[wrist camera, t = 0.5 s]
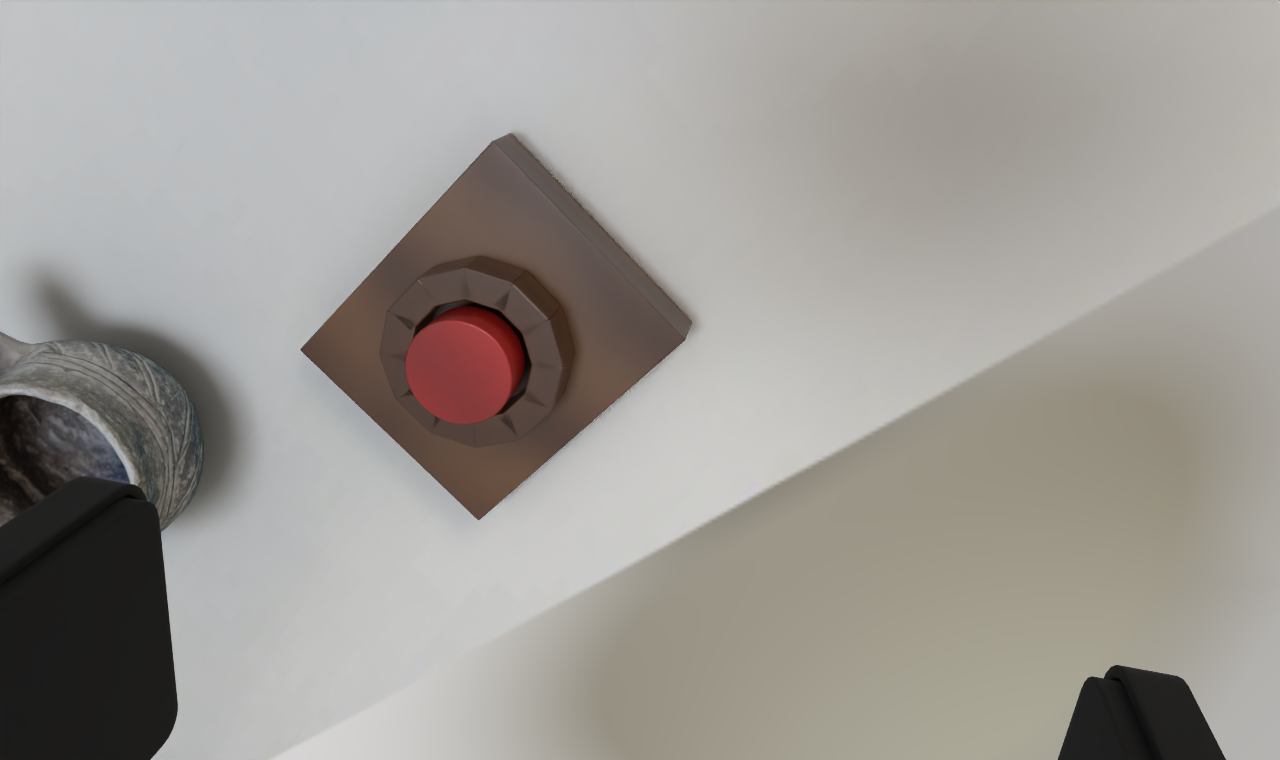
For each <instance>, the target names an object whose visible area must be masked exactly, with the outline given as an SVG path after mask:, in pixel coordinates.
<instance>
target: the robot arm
mask: <svg viewBox="0 0 1280 760" xmlns="http://www.w3.org/2000/svg"><path fill="white" fill-rule="evenodd" d="M177 712H178V702H177V692H176V682H175V672H174V662H173V652H172V642H171V632H170V622H169V612H168V602H167V592H166V581H165V571H164V561H163V551H162V541H161V531H160V521H159V514H158V510H157V508H156V507H155V505H154V504H153V503H151V502H149V501H147V498H146V495H145V493H144V492H143V490H142V489H141V488H140V487H138V486H136V485H134V484H128V483H123V482H117V481H112V480H106V479H101V478H96V477H90V476H79V477H77V478H75V479H73V480H71V481H69V482H68V483H66V484H64V485H63V486H61V487H60V488H58V489H57V490H55V491H54V492H52V493H51V494H49V495H48V496H46V497H45V498H43V499H42V500H40V501H39V502H37V503H36V504H34V505H33V506H31V507H30V508H28V509H27V510H25V511H24V512H22V513H21V514H19V515H17V516H16V517H14V518H13V519H11V520H10V521H8V522H7V523H5V524H4V525H2V526H1V527H0V760H150V759H151V758H152V757H153V756H154V755H155V754H156V753H157V751H158V750H159V749H160V748H161V747H162V746H163V744H164V743H165V742H166V740H167V739H168V737H169V736H170V734H171V732H172V730H173V727H174V724H175V721H176V717H177ZM1058 760H1226V759H1225V757H1224V755H1223V753H1222V751H1221V749H1220V747H1219V745H1218V743H1217V741H1216V739H1215V737H1214V735H1213V733H1212V732H1211V729H1210V728H1209V726H1208V724H1207V722H1206V720H1205V718H1204V716H1203V714H1202V712H1201V710H1200V708H1199V706H1198V704H1197V702H1196V700H1195V698H1194V696H1193V694H1192V692H1191V690H1190V688H1189V686H1188V685H1187V684H1186V682H1185V681H1184V680H1183V679H1182V678H1180V677H1178V676H1174V675H1169V674H1163V673H1158V672H1152V671H1147V670H1141V669H1136V668H1130V667H1125V666H1119V665H1115V666H1113V667H1111V668H1110V669H1109V670H1108V671H1107V673H1106V674H1105V677H1104V679H1103V678H1097V677H1089V678H1087V680H1086V681H1085V682H1084V684H1083V687H1082V689H1081V692H1080V695H1079V698H1078V701H1077V704H1076V707H1075V710H1074V713H1073V716H1072V719H1071V722H1070V725H1069V728H1068V731H1067V734H1066V737H1065V740H1064V743H1063V746H1062V749H1061V752H1060V755H1059V758H1058Z"/></svg>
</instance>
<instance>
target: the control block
mask: <svg viewBox="0 0 1280 760" xmlns="http://www.w3.org/2000/svg"><path fill="white" fill-rule="evenodd" d="M463 306H471V307H478V308H482V309H485V310H488V311H490V312H492V313H494V314H496V315H498V316H499V317H500V318H502V319H503V320H504V321H505V322H507V323H508V324H509V325H510V327H511V328H512V329H513V330H514V332H515V333H516V335H517V336H518V338H519V340H520V342H521V345H522V348H523V351H524V357H525V369H524V375H523V378H522V381H521V383H520V385H519V387H518V388H517V390H516V391H515V392H514V394H513V395H512V396H511V397H510V399H509V400H508V401H507V403H506V404H505V405H504V406H503V408H502V409H501V410H500V411H499V412H498V413H497V414H495V415H494V416H493V417H491V418H489V419H488V420H485V421H483V422H480V423H476V424H455V423H451V422H447V421H445V420H442V419H440V418H438V417H436V416H435V415H433V414H432V413H430V412H429V411H428V410H427V409H425V408H424V407H423V406H422V405H421V404H420V403H419V401H418V400H417V399H416V397H415V396H414V394H413V392H412V391H411V389H410V386H409V384H408V381H407V377H406V371H405V360H406V354H407V350H408V348H409V345H410V343H411V342H412V340H413V338H414V337H415V336H416V335H417V334H418V333H419V332H420V331H421V330H422V329H423V328H424V327H426V326H427V325H428V324H429V323H430V322H432V321H433V320H434V319H435V318H436V317H438V316H439V315H440V314H442V313H443V312H445V311H447V310H450V309H453V308H456V307H463ZM691 324H692V321H691V320H690V319H689V318H688V317H687V316H686V315H685V314H684V313H683V312H682V311H681V310H680V309H679V308H678V307H677V306H676V304H675V303H674V302H673V301H672V300H671V299H670V298H669V297H668V296H667V295H666V294H665V293H664V292H663V291H662V290H661V289H660V288H659V287H658V286H657V285H656V284H655V283H654V282H653V281H652V279H651V278H650V277H649V276H648V275H647V274H646V273H645V272H644V271H643V270H642V269H641V268H640V267H639V266H638V265H637V264H636V263H635V262H634V261H633V260H632V259H631V258H630V257H629V256H628V254H627V253H626V252H625V251H624V250H623V249H622V248H621V247H620V246H619V245H618V244H617V243H616V242H615V241H614V240H613V239H612V238H611V237H610V236H609V235H608V234H607V233H606V232H605V231H604V230H603V228H602V227H601V226H600V225H599V224H598V223H597V222H596V221H595V220H594V219H593V218H592V217H591V216H590V215H589V214H588V213H587V212H586V211H585V210H584V209H583V208H582V207H581V206H580V205H579V203H578V202H577V201H576V200H575V199H574V198H573V197H572V196H571V195H570V194H569V193H568V192H567V191H566V190H565V189H564V188H563V187H562V186H561V185H560V184H559V183H558V182H557V181H556V180H555V178H554V177H553V176H552V175H551V174H550V173H549V172H548V171H547V170H546V169H545V168H544V167H543V166H542V165H541V164H540V163H539V162H538V161H537V160H536V159H535V158H534V157H533V156H532V155H531V154H530V152H529V151H528V150H527V149H526V148H525V147H524V146H523V145H522V144H521V143H520V142H519V141H518V140H517V139H516V138H515V137H514V136H513V135H512V134H511V133H510V134H507V135H505V136H503V137H501V138H499V139H496V140H494V141H492V142H491V143H490V145H489V146H488V147H487V148H486V149H485V150H484V151H483V152H482V153H481V154H480V155H479V156H478V158H477V159H476V160H475V161H474V162H473V163H472V164H471V165H470V166H469V167H468V168H467V169H466V171H465V172H464V173H463V174H462V175H461V176H460V177H459V178H458V179H457V180H456V181H455V182H454V184H453V185H452V186H451V187H450V188H449V189H448V190H447V191H446V192H445V193H444V194H443V195H442V197H441V198H440V199H439V200H438V201H437V202H436V203H435V204H434V205H433V206H432V207H431V208H430V210H429V211H428V212H427V213H426V214H425V215H424V216H423V217H422V218H421V219H420V220H419V221H418V223H417V224H416V225H415V226H414V227H413V228H412V229H411V230H410V231H409V232H408V233H407V234H406V236H405V237H404V238H403V239H402V240H401V241H400V242H399V243H398V244H397V245H396V246H395V247H394V249H393V250H392V251H391V252H390V253H389V254H388V255H387V256H386V257H385V258H384V259H383V260H382V262H381V263H380V264H379V265H378V266H377V267H376V268H375V269H374V270H373V271H372V272H371V273H370V275H369V276H368V277H367V278H366V279H365V280H364V281H363V282H362V283H361V284H360V285H359V286H358V288H357V289H356V290H355V291H354V292H353V293H352V294H351V295H350V296H349V297H348V298H347V299H346V301H345V302H344V303H343V304H342V305H341V306H340V307H339V308H338V309H337V310H336V311H335V312H334V314H333V315H332V316H331V317H330V318H329V319H328V320H327V321H326V322H325V323H324V324H323V325H322V327H321V328H320V329H319V330H318V331H317V332H316V333H315V334H314V335H313V336H312V337H311V338H310V340H309V341H308V342H307V343H306V344H305V345H304V346H303V347H302V348H301V351H302V352H303V353H304V354H305V355H306V356H307V357H308V358H309V359H310V360H311V361H312V362H313V363H314V364H315V365H316V366H318V367H319V368H320V369H321V370H322V371H323V372H324V373H325V374H326V375H327V376H328V377H329V378H330V379H331V380H332V381H333V382H334V383H335V384H336V385H337V386H338V387H340V388H341V389H342V390H343V391H344V392H345V393H346V394H347V395H348V396H349V397H350V398H351V399H352V400H353V401H354V402H355V403H356V404H357V405H358V406H359V407H360V408H361V409H363V410H364V411H365V412H366V413H367V414H368V415H369V416H370V417H371V418H372V419H373V420H374V421H375V422H376V423H377V424H378V425H379V426H380V427H381V428H382V429H383V430H384V431H386V432H387V433H388V434H389V435H390V436H391V437H392V438H393V439H394V440H395V441H396V442H397V443H398V444H399V445H400V446H401V447H402V448H403V449H404V450H405V451H406V452H408V453H409V454H410V455H411V456H412V457H413V458H414V459H415V460H416V461H417V462H418V463H419V464H420V465H421V466H422V467H423V468H424V469H425V470H426V471H427V472H428V473H429V474H431V475H432V476H433V477H434V478H435V479H436V480H437V481H438V482H439V483H440V484H441V485H442V486H443V487H444V488H445V489H446V490H447V491H448V492H449V493H450V494H451V495H452V496H454V497H455V498H456V499H457V500H458V501H459V502H460V503H461V504H462V505H463V506H464V507H465V508H466V509H467V510H468V511H469V512H470V513H471V514H472V515H473V516H474V517H475V518H477V519H478V520H480V519H481V518H482V517H483V516H485V515H486V514H487V513H488V512H489V511H490V510H491V509H493V508H494V507H495V506H496V505H497V504H498V503H499V502H501V501H502V500H503V499H504V498H505V497H506V496H507V495H509V494H510V493H511V492H512V491H513V490H514V489H515V488H517V487H518V486H519V485H520V484H521V483H522V482H523V481H525V480H526V479H527V478H528V477H529V476H530V475H531V474H533V473H534V472H535V471H536V470H537V469H538V468H539V467H541V466H542V465H543V464H544V463H545V462H546V461H547V460H549V459H550V458H551V457H552V456H553V455H554V454H555V453H557V452H558V451H559V450H560V449H561V448H562V447H563V446H565V445H566V444H567V443H568V442H569V441H570V440H571V439H573V438H574V437H575V436H576V435H577V434H578V433H579V432H581V431H582V430H583V429H584V428H585V427H586V426H587V425H589V424H590V423H591V422H592V421H593V420H594V419H595V418H597V417H598V416H599V415H600V414H601V413H602V412H603V411H605V410H606V409H607V408H608V407H609V406H610V405H611V404H613V403H614V402H615V401H616V400H617V399H618V398H619V397H621V396H622V395H623V394H624V393H625V392H626V391H627V390H629V389H630V388H631V387H632V386H633V385H634V384H635V383H637V382H638V381H639V380H640V379H641V378H642V377H643V376H645V375H646V374H647V373H648V372H649V371H650V370H651V369H653V368H654V367H655V366H656V365H657V364H658V363H659V362H661V361H662V360H663V359H664V358H665V357H666V356H667V355H669V354H670V353H671V352H672V351H673V350H674V349H675V348H677V347H678V346H679V345H680V344H681V343H682V342H683V341H685V339H686V336H687V334H688V331H689V329H690V326H691Z"/></svg>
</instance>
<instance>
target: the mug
mask: <svg viewBox="0 0 1280 760" xmlns="http://www.w3.org/2000/svg"><path fill="white" fill-rule="evenodd" d="M203 456H204V442H203V438H202V432H201V429H200V426H199V423H198V419H197V415H196V412H195V408H194V405H193V403H192V401H191V400H190V398H189V395H188V393H187V392H186V391H185V389H184V388H183V387H182V386H181V385H180V384H179V383H178V381H177V380H176V379H175V378H174V377H173V376H172V375H171V374H170V373H169V372H168V371H166V370H165V369H163V368H162V367H161V366H159V365H158V364H157V363H155V362H154V361H153V360H151V359H149V358H147V357H145V356H143V355H140V354H137V353H134V352H131V351H128V350H125V349H122V348H120V347H116V346H113V345H109V344H105V343H98V342H89V341H79V340H60V341H50V342H44V343H37V344H28V343H24V342H20V341H18V340H16V339H14V338H12V337H10V336H8V335H6V334H4V333H2V332H0V527H1V526H2V525H4V524H5V523H7V522H8V521H10V520H11V519H13V518H14V517H16V516H17V515H19V514H21V513H22V512H24V511H25V510H27V509H28V508H30V507H31V506H33V505H34V504H36V503H37V502H39V501H40V500H42V499H43V498H45V497H46V496H48V495H49V494H51V493H52V492H54V491H55V490H57V489H58V488H60V487H61V486H63V485H64V484H66V483H68V482H69V481H71V480H73V479H75V478H77V477H79V476H90V477H96V478H101V479H106V480H112V481H117V482H123V483H128V484H134V485H136V486H138V487H140V488H141V489H142V490H143V492H144V493H145V495H146V498H147V501H149V502H151V503H153V504H154V505H155V507H156V508H157V510H158V514H159V521H160V531H161V532H162V531H163V530H164V529H165V528H167V527H168V526H169V525H170V524H171V523H172V522H173V521H174V520H175V519H176V518H177V517H178V516H179V515H180V514H181V513H182V512H183V511H184V509H185V508H186V507H187V505H188V504H189V502H190V501H191V499H192V497H193V496H194V493H195V490H196V488H197V485H198V483H199V480H200V476H201V473H202V466H203Z"/></svg>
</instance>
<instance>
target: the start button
mask: <svg viewBox="0 0 1280 760" xmlns="http://www.w3.org/2000/svg"><path fill="white" fill-rule="evenodd" d="M524 369H525V357H524V351H523V348H522V345H521V342H520V340H519V338H518V336H517V335H516V333H515V332H514V330H513V329H512V328H511V327H510V325H509V324H508V323H507V322H505V321H504V320H503V319H502V318H500V317H499V316H498V315H496V314H494V313H492V312H490V311H488V310H485V309H482V308H478V307H471V306H463V307H456V308H453V309H450V310H447V311H445V312H443V313H442V314H440V315H439V316H438V317H436V318H435V319H434V320H433V321H432V322H430V323H429V324H428V325H427V326H426V327H424V328H423V329H422V330H421V331H420V332H419V333H418V334H417V335H416V336H415V337H414V338H413V340H412V342H411V343H410V345H409V348H408V350H407V354H406V360H405V371H406V377H407V381H408V384H409V386H410V389H411V391H412V392H413V394H414V396H415V397H416V399H417V400H418V401H419V403H420V404H421V405H422V406H423V407H424V408H425V409H427V410H428V411H429V412H430V413H432V414H433V415H435V416H436V417H438V418H440V419H442V420H445V421H447V422H451V423H455V424H476V423H480V422H483V421H485V420H488V419H489V418H491V417H493V416H494V415H495V414H497V413H498V412H499V411H500V410H501V409H502V408H503V406H504V405H505V404H506V403H507V401H508V400H509V399H510V397H511V396H512V395H513V394H514V392H515V391H516V390H517V388H518V387H519V385H520V383H521V381H522V378H523V375H524Z"/></svg>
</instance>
